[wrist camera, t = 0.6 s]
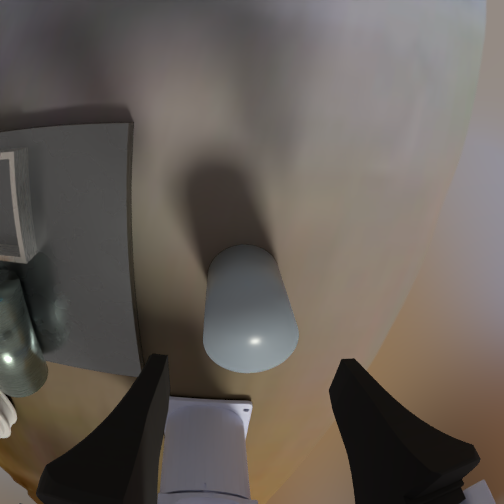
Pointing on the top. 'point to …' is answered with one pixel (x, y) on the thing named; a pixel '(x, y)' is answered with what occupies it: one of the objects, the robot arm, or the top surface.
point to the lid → (6, 416)
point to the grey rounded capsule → (247, 311)
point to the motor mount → (66, 253)
